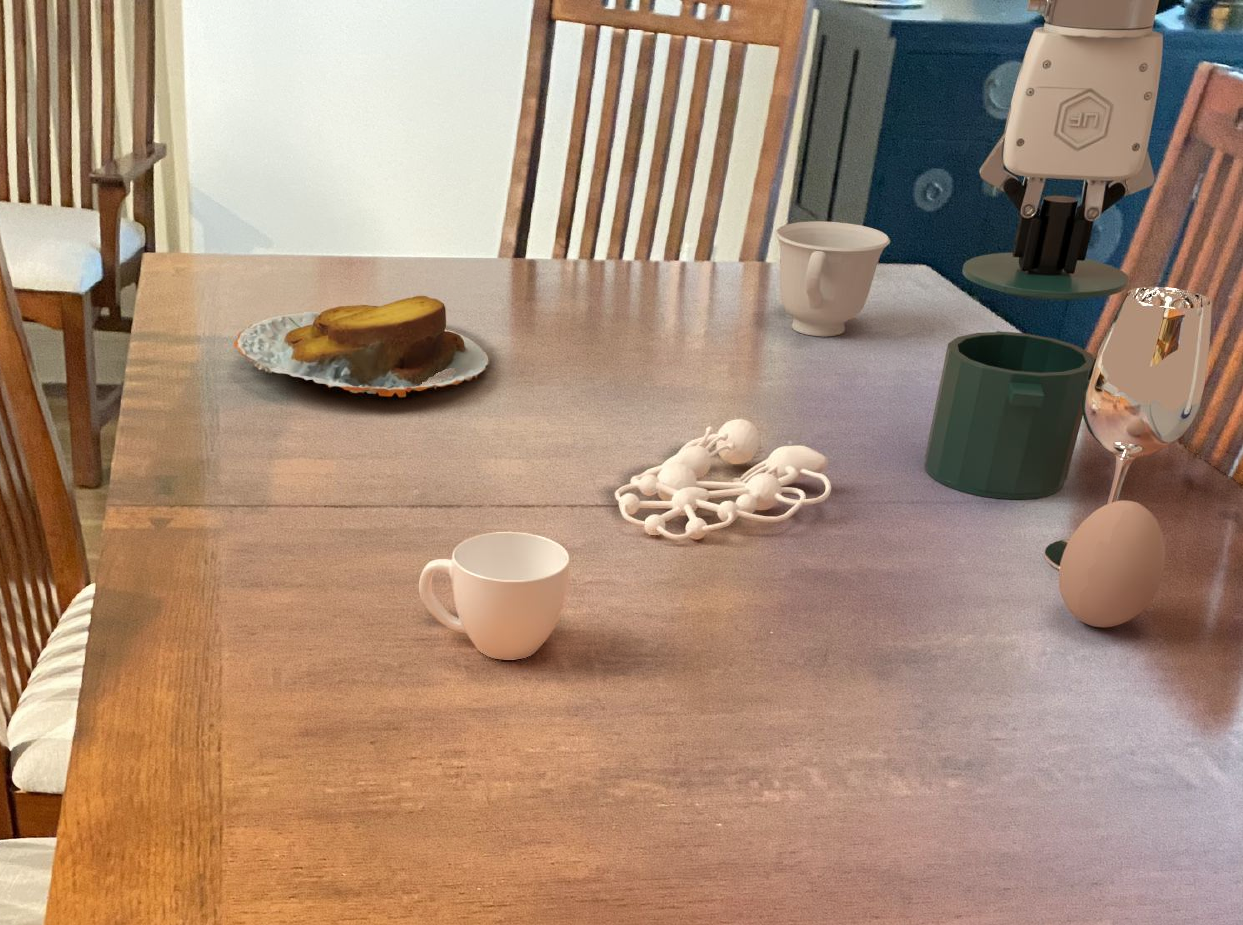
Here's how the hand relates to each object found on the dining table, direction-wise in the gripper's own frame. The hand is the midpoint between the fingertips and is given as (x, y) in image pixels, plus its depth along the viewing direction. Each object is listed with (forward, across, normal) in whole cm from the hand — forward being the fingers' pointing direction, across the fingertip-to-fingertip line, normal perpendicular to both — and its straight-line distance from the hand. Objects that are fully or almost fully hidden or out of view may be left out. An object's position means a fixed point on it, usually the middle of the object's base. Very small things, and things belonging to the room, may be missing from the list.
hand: (1046, 266), depth 120 cm
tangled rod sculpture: (+17, -23, -13) cm, 31 cm away
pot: (+18, -1, 0) cm, 18 cm away
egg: (+18, +4, -28) cm, 33 cm away
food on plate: (+17, -61, +12) cm, 64 cm away
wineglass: (+18, +6, -17) cm, 25 cm away
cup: (+17, -37, -42) cm, 58 cm away
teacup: (+17, -17, +38) cm, 45 cm away
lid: (+1, 0, 0) cm, 1 cm away
